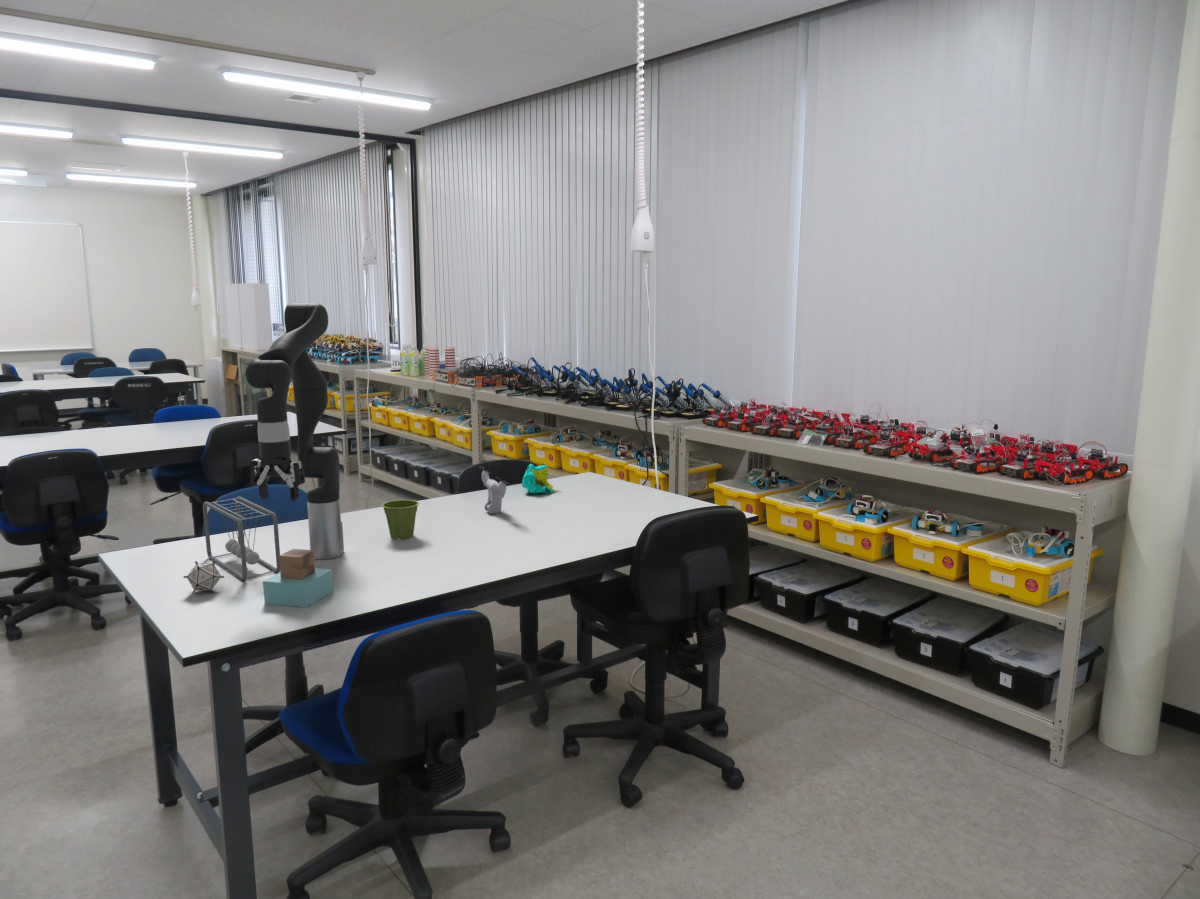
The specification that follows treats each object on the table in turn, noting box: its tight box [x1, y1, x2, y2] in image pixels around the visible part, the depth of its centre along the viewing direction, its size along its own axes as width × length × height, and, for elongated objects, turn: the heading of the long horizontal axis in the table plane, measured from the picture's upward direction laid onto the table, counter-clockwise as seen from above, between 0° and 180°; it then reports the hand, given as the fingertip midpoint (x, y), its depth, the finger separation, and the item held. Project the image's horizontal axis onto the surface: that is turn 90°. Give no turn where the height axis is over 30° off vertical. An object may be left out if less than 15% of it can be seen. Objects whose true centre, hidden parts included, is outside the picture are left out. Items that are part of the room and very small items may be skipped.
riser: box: [262, 567, 334, 608], centre depth 206 cm, size 12×12×6 cm
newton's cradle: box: [202, 496, 281, 581], centre depth 230 cm, size 30×10×18 cm, turn 44°
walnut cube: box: [279, 548, 316, 580], centre depth 205 cm, size 6×6×6 cm
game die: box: [183, 560, 225, 594], centre depth 210 cm, size 9×8×10 cm
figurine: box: [478, 465, 510, 515], centre depth 289 cm, size 35×6×15 cm, turn 25°
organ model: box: [521, 463, 554, 494], centre depth 321 cm, size 15×12×13 cm
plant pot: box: [381, 499, 420, 541], centre depth 259 cm, size 12×12×11 cm
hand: (279, 499), depth 206 cm, fingers open, 8 cm apart
